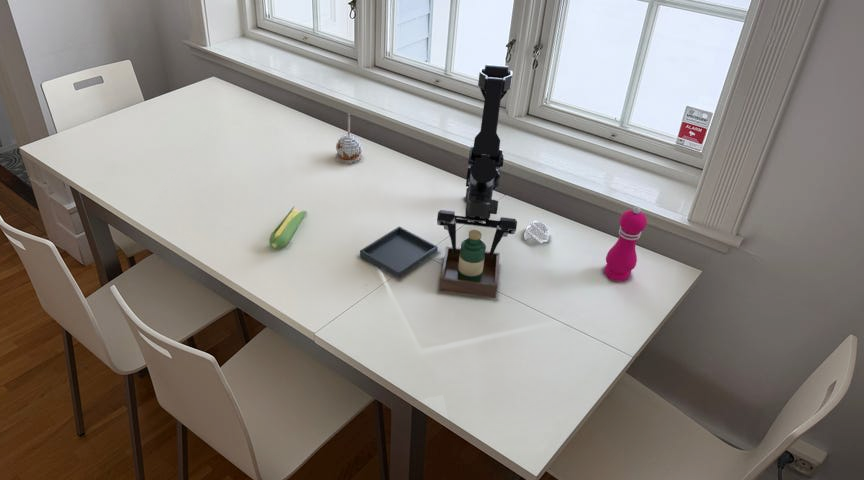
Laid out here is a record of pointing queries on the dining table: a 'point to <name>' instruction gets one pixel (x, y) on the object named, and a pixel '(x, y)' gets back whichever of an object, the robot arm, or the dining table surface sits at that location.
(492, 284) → the crate
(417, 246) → the tray
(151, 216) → the dining table surface
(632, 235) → the pepper mill
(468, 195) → the robot arm
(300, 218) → the edible corn
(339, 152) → the decorative ornament
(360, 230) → the dining table surface
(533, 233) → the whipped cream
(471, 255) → the bottle
